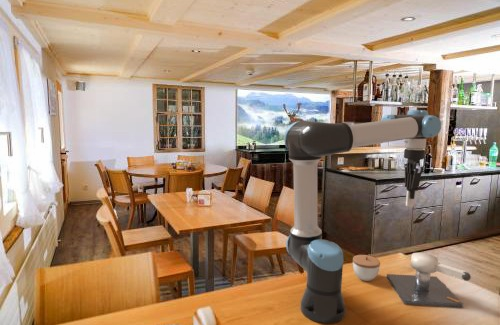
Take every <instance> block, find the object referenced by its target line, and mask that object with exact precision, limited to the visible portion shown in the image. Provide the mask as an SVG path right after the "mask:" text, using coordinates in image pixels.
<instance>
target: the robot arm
mask: <svg viewBox="0 0 500 325" xmlns="http://www.w3.org/2000/svg"><path fill="white" fill-rule="evenodd" d="M441 129H442V122H441V119H440V118H439V117H438V116H436V115H430V114H429V112H428V111H427V110H425V109H424V110H423V109H422V110H421V109H420V110H419V109H416V110H415V109H411V110H410V109H409V110H408V111H407V113H406V114H386V115H383V117H381V119H380V120H376V121H370V122H369V121H368V122H364V123H356V124H349V123H347V122H340V123H339V122H338V123H336V122H335V123H333V122H332V123H330V122H323V121H309V120H299V121H295V122H292V123H290V125H289V126H288V127H287V129H286V130H285V131H284V136H283V140H284V141H283V142H284V145H285V146H286V148H287V149H288V160H289V161H290V162H291V163H292V164H293V167H292V168H293V219H294V220H293V221H294V222H293V224H294V225H293V226H292V227H291V228H290V229H289V230H290V233H289V236H287V238H286V240H285V241H286V242H285V247H286V251H287V253H288V254H289V257H291V259H292V260H293V261H295V262H296V263H297V264H298V265H299V266H300V267H301V268H302V269H303V270H304V271H305V272H306V287H305V289H304V291H303V292H304V293H303V294H302V297H301V300H300V312H301V313H302V314H303V315H304V316H305V318H308V319H309V320H311V321H313V322H316V323H320V324H334V323H338V322H340V321H342V320H344V318H345V317H346V304H345V300H344V296H343V293H342V285H343V284H342V282H343V271H344V270H343V267H344V262H345V261H344V252H343V249H342V248H341V247H340V246H339V245H338V244H337V243H335V242H333V241H330V240H327V239H322V238H323V236H322V235H323V232H322V231H323V230H322V229H321V228H320V227H319V225H318V163H319V162H320V161H321V160H322V158H323V157H326V156H330V155H331V156H333V155H336V154H343V153H348V152H350V151H351V150H352V149H354V148H359V147H366V146H373V145H378V144H383V143H391V142H397V141H403V143H404V148H405V149H404V151H403V158H404V159H407V161H406V163H404V165H403V166H404V188H406V196H405V197H406V198H405V206H406V207H414V206H415V197H416V191H419V188H420V182H421V177H422V174H423V171H424V169H423V168H422V167H421V161H422V160H425V159H426V158H425V157H426V156H425V155H426V150H425V149H426V148H427V138H435V137H437V136H438V135H439V134H440V132H441Z"/></svg>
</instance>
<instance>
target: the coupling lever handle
mask: <svg viewBox="0 0 500 325" xmlns="http://www.w3.org/2000/svg"><path fill="white" fill-rule="evenodd" d="M410 267H411V268H412V269H413V270H415V271H416V270H418V271H421V272H425V273H431V274H434V273H436V272H438V273H440V274H441V273H442V274H444V275H447V276H450V277H454V278H455V279H459V280H461V281H465V282H466V281H467V282H468V281H470V280H471V278H472V276H471V274H470V273H469V272H467V271H465V270H462V269H459V268H457V267H456V268H455V267H453V266H450V265H447V264H443V263H441V262H439V259H438V257H436V256H434V255H432V254H430V253H429V254H428V253H425V252H413V253H411V257H410Z"/></svg>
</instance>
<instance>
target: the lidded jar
mask: <svg viewBox="0 0 500 325" xmlns="http://www.w3.org/2000/svg"><path fill="white" fill-rule="evenodd" d="M380 267H381V261H380V260H379V259H378V258H377V257H374V256H371V255H367V254H357V255H355V256H353V257H352V269H353V272H354V274H355V275H356V277H357V278H358V279H359V280H361V281H364V282H370V281H373V280H374V279H375V278H377V277H378V274H379V272H380Z"/></svg>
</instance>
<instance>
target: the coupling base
mask: <svg viewBox="0 0 500 325" xmlns="http://www.w3.org/2000/svg"><path fill="white" fill-rule="evenodd" d="M431 274H432V273H425V272H421V271H418V270H415V275H412V274H411V275H410V274H409V275H407V274H392V273H387V274H386V280H387V281H388V282H389V283H390V285H391V287H392V288H393V290H394V291H395V293H396V294H397V296H398V297H399V298H400V300H401V301H402V303H403V305H410V306H411V305H412V306H427V307H445V308H446V307H447V308H463V304H464V303H463V302H462V301H461V300H460V299H459V298H458V297H457V296H456V295H455V294H454V293H453V292H452V291H451V290H450V289H449V288H448V287H447V286H446V284H444V283H443V282H442V281H441V280H440V279H439V278H438V277H437V276H431Z"/></svg>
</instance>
